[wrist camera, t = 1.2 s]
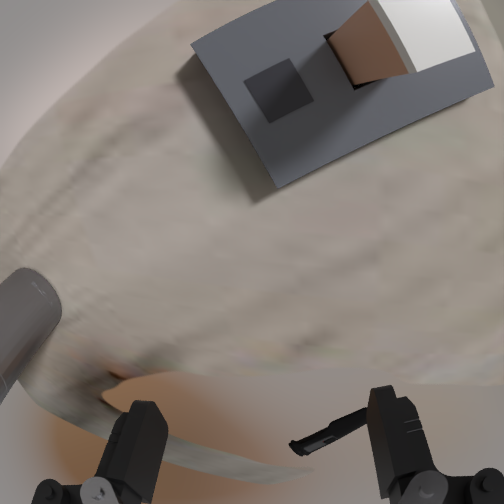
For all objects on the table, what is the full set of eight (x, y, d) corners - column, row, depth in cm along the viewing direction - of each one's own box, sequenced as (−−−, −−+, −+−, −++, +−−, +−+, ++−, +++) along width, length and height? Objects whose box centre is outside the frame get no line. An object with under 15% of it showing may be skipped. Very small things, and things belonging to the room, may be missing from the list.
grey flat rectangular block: (276, 180, 29) (277, 189, 26) (197, 50, 24) (189, 44, 21) (477, 86, 23) (495, 86, 20) (415, -33, 18) (428, -43, 15)
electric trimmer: (377, 406, 43) (382, 421, 40) (300, 447, 47) (301, 462, 45) (366, 397, 42) (371, 413, 39) (286, 440, 46) (287, 456, 44)
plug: (346, 86, 25) (417, 72, 12) (322, 44, 23) (374, -6, 11) (386, 69, 24) (475, 51, 11) (363, 28, 22) (437, -20, 10)
